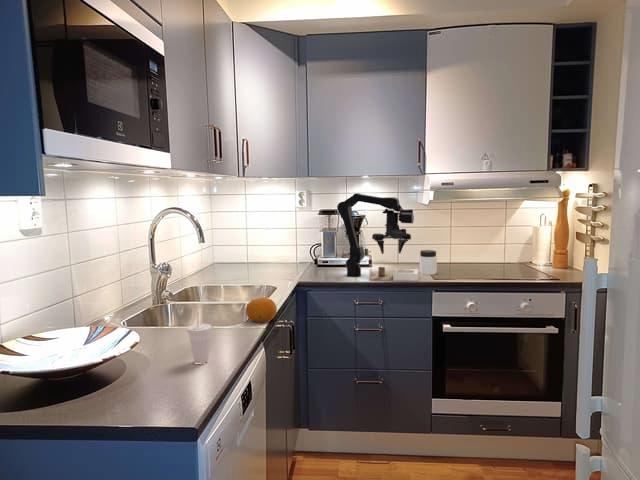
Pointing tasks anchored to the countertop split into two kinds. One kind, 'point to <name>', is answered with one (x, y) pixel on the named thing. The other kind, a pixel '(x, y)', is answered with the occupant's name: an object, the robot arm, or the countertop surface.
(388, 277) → the lid
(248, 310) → the fruit
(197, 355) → the smoothie
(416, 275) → the dish
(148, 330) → the countertop surface
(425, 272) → the jar
